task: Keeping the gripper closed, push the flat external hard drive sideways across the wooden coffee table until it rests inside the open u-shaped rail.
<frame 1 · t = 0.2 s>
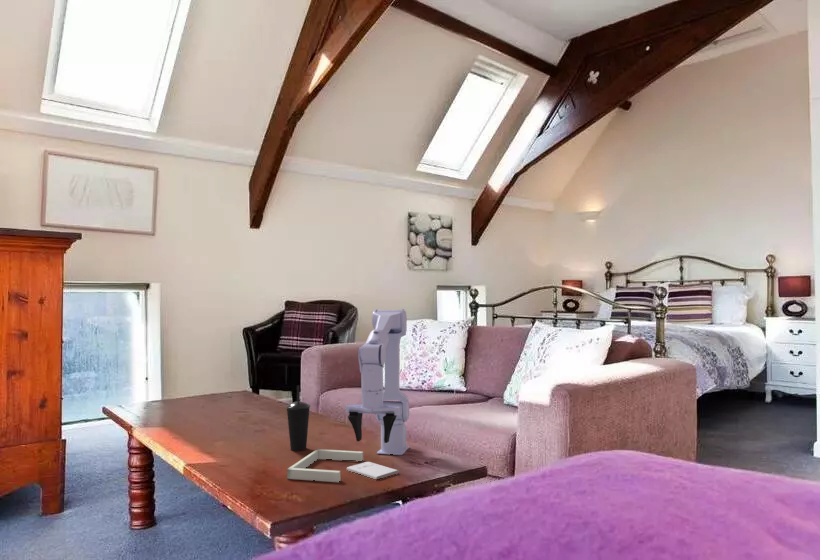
hand: (372, 441, 157), 10 cm above the table, tool pointing down, fingers open, 7 cm apart
external hard drive: (372, 474, 163), on the table
drinking cup: (298, 449, 188), on the table
open u-shaped rail: (327, 469, 166), on the table
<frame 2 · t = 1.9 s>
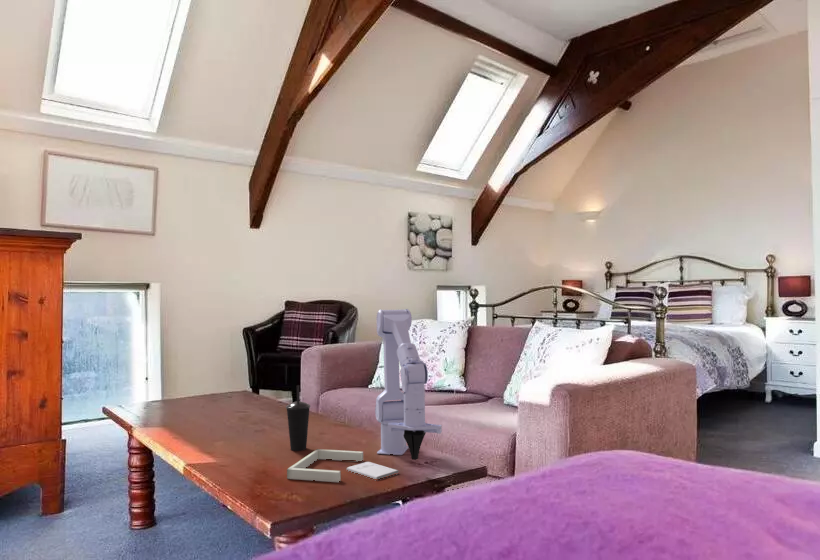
hand: (415, 458, 160), 4 cm above the table, tool pointing down, fingers closed
nothing on the table moved.
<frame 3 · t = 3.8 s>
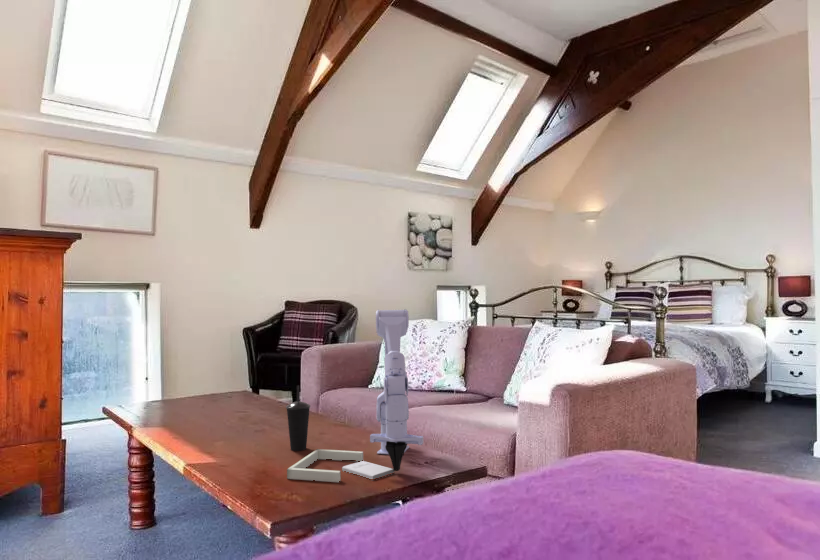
hand: (396, 469, 162), 1 cm above the table, tool pointing down, fingers closed
external hard drive: (368, 474, 163), on the table
everything else where it was.
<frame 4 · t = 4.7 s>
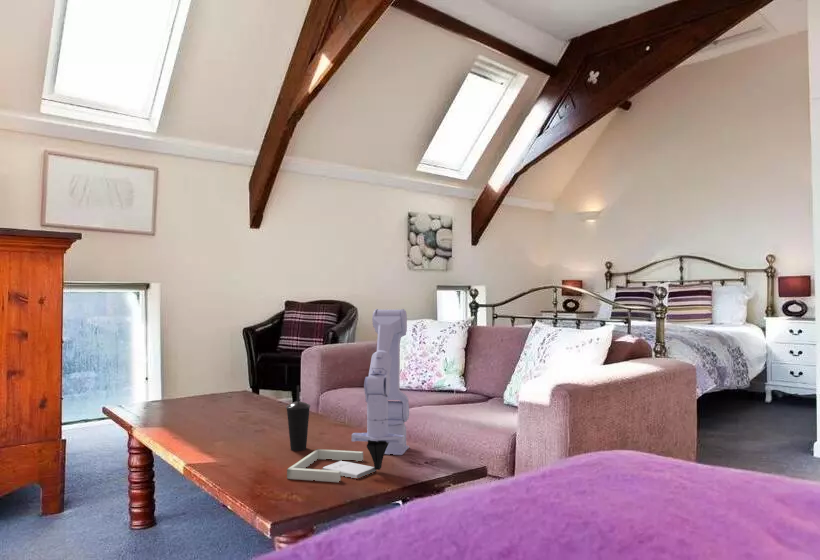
hand: (378, 468, 163), 1 cm above the table, tool pointing down, fingers closed
external hard drive: (349, 473, 164), on the table, touching gripper
everything else where it was.
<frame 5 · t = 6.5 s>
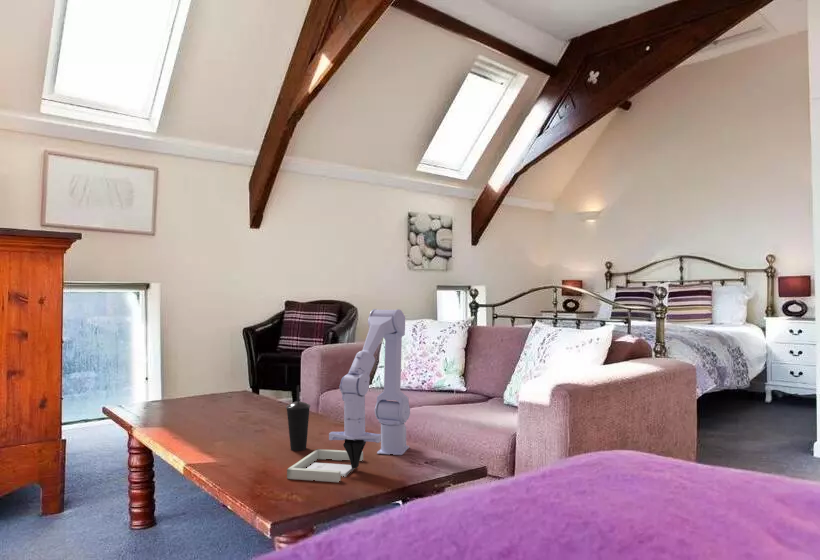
hand: (355, 467, 164), 1 cm above the table, tool pointing down, fingers closed
external hard drive: (329, 473, 164), on the table
everything else where it was.
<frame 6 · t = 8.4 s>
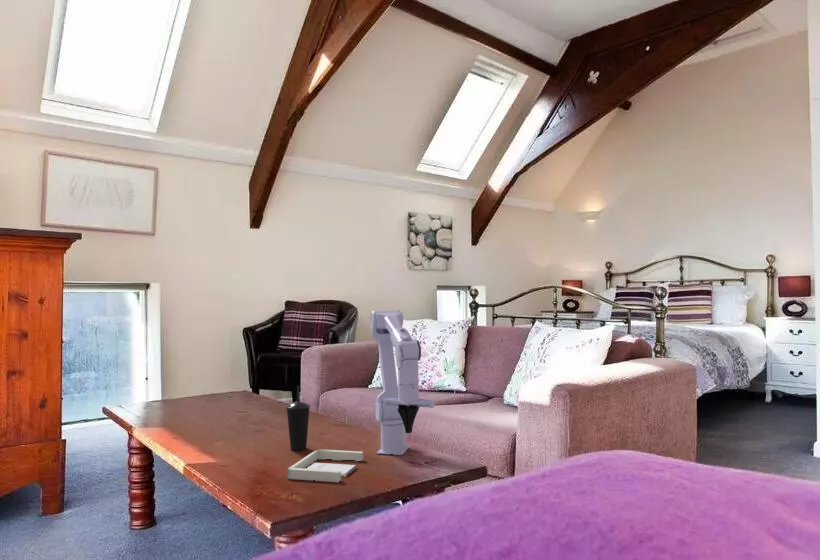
hand: (408, 432, 167), 10 cm above the table, tool pointing down, fingers closed
nothing on the table moved.
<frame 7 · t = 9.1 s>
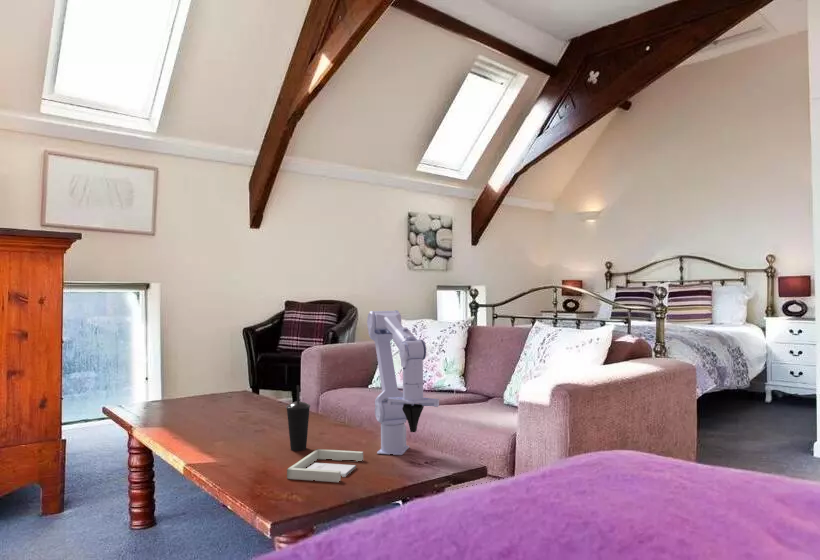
hand: (413, 431, 168), 10 cm above the table, tool pointing down, fingers closed
nothing on the table moved.
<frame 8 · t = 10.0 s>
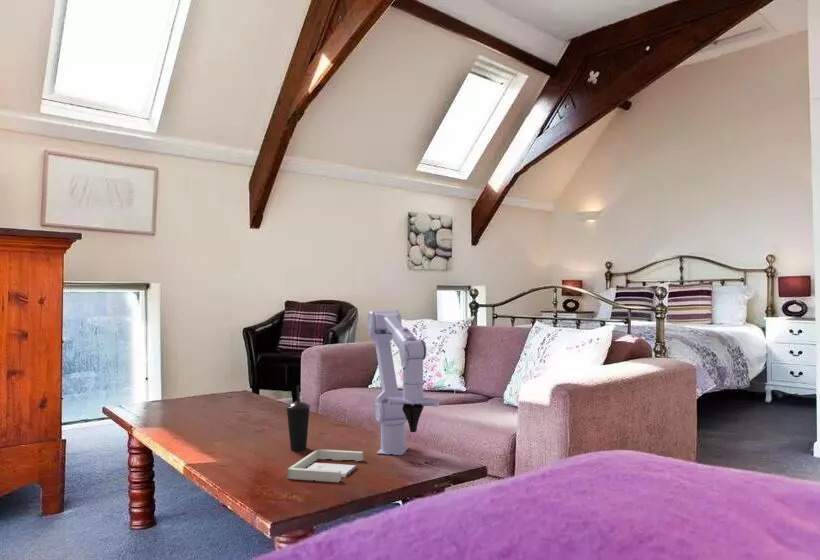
hand: (413, 431, 168), 10 cm above the table, tool pointing down, fingers closed
nothing on the table moved.
at the end: external hard drive inside the target area (2.1 cm from its centre), on the table; external hard drive moved 11.8 cm from its start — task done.
